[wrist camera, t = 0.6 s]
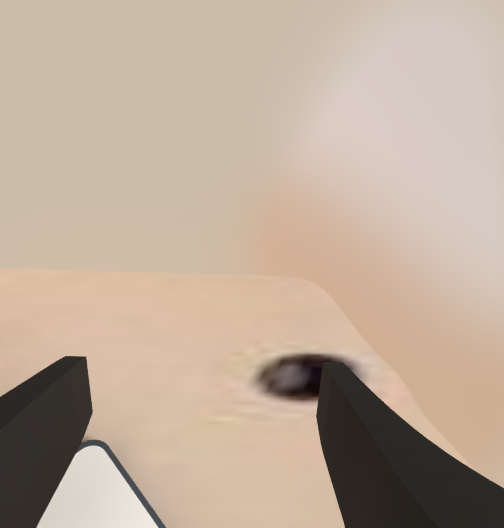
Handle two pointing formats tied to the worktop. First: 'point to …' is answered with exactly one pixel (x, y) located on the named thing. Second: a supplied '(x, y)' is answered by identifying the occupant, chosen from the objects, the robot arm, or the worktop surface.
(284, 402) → the worktop surface
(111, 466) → the phone case
